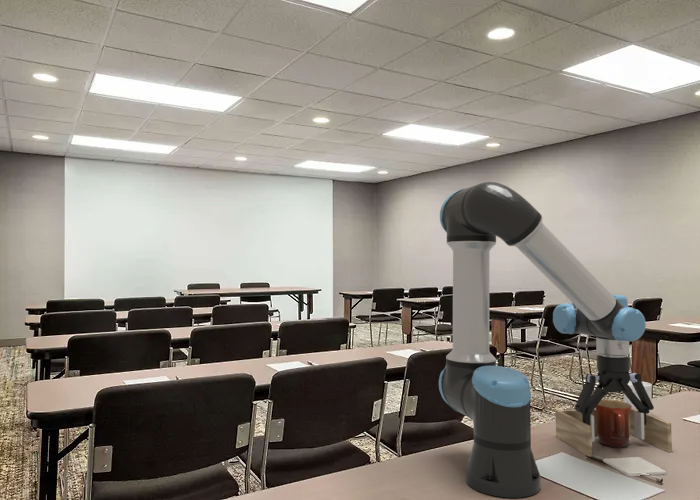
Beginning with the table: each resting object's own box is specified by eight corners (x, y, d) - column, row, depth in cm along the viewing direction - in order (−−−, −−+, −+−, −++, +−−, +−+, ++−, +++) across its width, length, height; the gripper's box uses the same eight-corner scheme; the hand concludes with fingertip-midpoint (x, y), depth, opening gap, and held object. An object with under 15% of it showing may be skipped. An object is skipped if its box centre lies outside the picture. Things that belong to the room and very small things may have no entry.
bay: (588, 456, 125) (587, 427, 125) (556, 436, 140) (555, 410, 140) (671, 451, 128) (671, 423, 128) (631, 433, 143) (630, 407, 143)
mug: (590, 437, 139) (589, 398, 139) (626, 439, 137) (625, 400, 138) (603, 453, 127) (602, 410, 128) (642, 455, 125) (641, 412, 126)
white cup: (629, 411, 165) (629, 379, 165) (657, 416, 159) (656, 383, 159) (618, 415, 160) (618, 383, 160) (646, 421, 154) (645, 387, 154)
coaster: (628, 476, 113) (628, 473, 113) (603, 461, 122) (603, 458, 122) (666, 474, 114) (666, 471, 114) (638, 459, 123) (638, 456, 123)
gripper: (575, 358, 128) (577, 446, 127) (668, 356, 131) (670, 441, 130) (559, 353, 135) (561, 436, 134) (647, 351, 138) (649, 432, 138)
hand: (614, 439), depth 132 cm, fingers open, 13 cm apart
